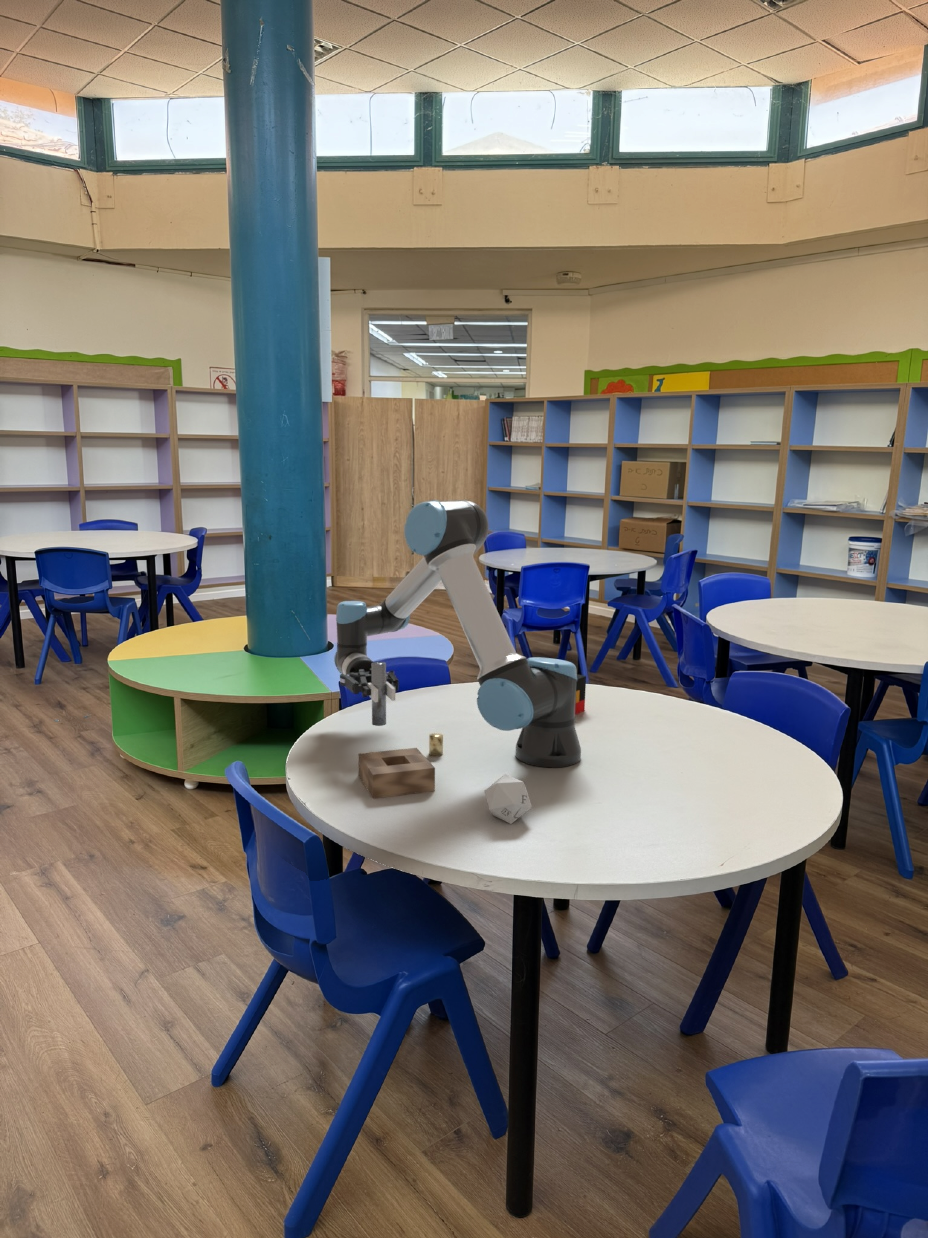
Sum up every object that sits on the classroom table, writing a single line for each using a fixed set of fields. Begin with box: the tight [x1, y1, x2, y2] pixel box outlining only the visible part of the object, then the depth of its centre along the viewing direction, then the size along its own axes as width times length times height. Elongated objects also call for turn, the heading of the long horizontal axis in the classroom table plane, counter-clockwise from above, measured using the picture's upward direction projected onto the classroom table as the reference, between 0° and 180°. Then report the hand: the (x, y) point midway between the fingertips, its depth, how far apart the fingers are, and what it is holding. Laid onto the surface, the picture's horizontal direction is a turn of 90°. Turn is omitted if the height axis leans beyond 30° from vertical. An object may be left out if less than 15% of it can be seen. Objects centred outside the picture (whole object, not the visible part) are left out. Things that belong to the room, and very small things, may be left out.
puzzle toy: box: [575, 674, 587, 716], centre depth 227 cm, size 10×10×10 cm
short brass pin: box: [428, 732, 444, 757], centre depth 191 cm, size 3×3×4 cm
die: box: [484, 773, 533, 825], centre depth 156 cm, size 8×9×10 cm
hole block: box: [357, 747, 436, 799], centre depth 172 cm, size 13×13×5 cm
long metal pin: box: [371, 661, 387, 727], centre depth 184 cm, size 3×3×14 cm
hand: (385, 695), depth 179 cm, fingers closed on long metal pin, 3 cm apart
